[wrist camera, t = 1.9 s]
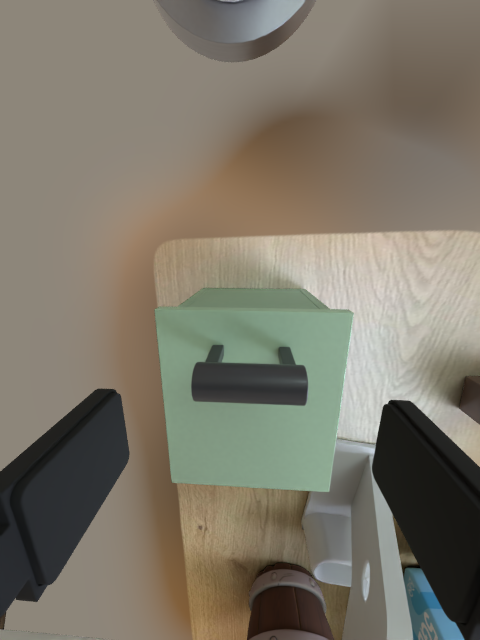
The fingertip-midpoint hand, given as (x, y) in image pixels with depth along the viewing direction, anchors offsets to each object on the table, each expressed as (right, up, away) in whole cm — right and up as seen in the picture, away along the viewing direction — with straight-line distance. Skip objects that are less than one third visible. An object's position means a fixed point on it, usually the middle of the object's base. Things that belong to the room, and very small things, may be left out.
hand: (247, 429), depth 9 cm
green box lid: (0, -2, +8) cm, 8 cm away
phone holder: (+15, -21, +26) cm, 36 cm away
